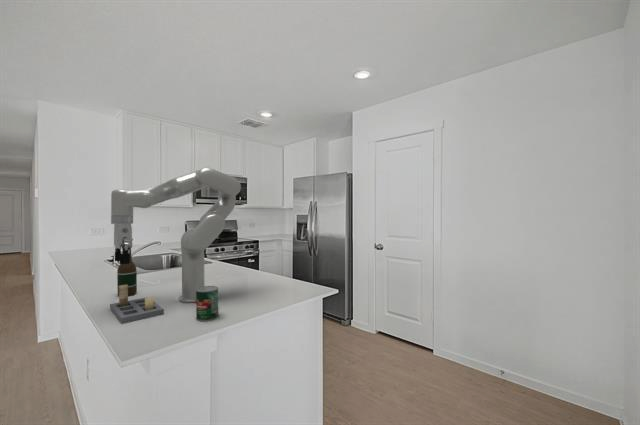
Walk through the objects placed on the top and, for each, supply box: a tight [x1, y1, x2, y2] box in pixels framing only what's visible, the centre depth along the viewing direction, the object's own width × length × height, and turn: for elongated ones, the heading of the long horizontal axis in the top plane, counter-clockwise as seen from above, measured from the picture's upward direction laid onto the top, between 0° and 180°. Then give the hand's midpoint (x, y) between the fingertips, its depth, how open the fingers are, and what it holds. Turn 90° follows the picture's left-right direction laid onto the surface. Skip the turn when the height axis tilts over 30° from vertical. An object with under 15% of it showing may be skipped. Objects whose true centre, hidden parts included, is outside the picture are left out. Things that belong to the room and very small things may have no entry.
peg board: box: [109, 296, 165, 325], centre depth 119 cm, size 22×14×6 cm, turn 44°
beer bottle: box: [116, 248, 138, 298], centre depth 142 cm, size 8×8×24 cm
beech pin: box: [118, 285, 129, 307], centre depth 121 cm, size 3×3×10 cm
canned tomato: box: [195, 285, 219, 322], centre depth 113 cm, size 8×8×11 cm
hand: (121, 262), depth 121 cm, fingers open, 9 cm apart
